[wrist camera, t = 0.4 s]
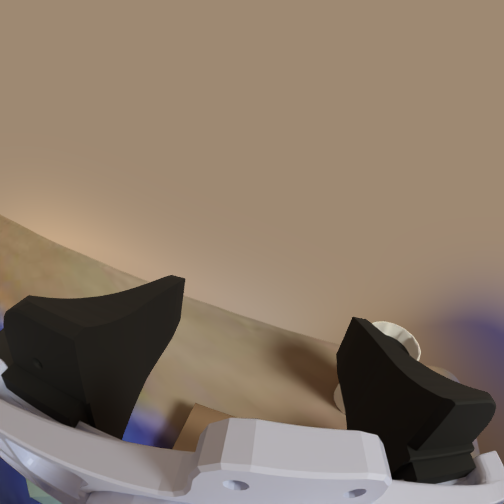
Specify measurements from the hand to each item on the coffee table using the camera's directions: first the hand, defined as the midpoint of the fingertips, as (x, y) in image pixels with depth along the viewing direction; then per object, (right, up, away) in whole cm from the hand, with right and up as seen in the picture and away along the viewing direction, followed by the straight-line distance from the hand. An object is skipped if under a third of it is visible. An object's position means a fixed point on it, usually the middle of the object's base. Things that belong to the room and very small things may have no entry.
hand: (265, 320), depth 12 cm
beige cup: (+12, -15, +19) cm, 27 cm away
